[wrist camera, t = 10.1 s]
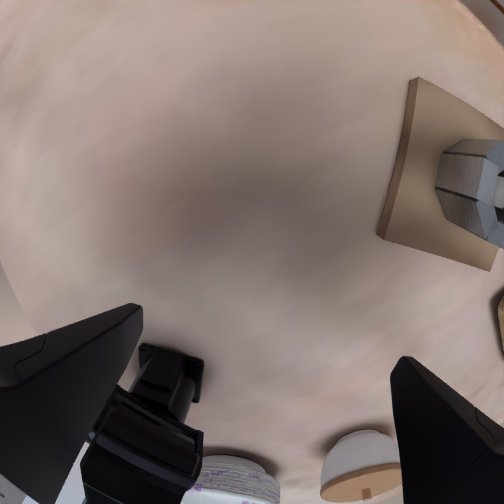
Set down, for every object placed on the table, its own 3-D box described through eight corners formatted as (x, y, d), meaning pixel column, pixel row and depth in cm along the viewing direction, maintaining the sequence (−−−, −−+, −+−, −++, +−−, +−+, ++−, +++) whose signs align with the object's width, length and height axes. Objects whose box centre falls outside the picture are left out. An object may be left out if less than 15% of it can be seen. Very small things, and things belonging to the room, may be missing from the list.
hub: (482, 235, 16) (520, 257, 12) (426, 212, 16) (466, 232, 12) (499, 161, 14) (541, 168, 9) (445, 127, 14) (489, 125, 9)
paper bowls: (181, 434, 30) (165, 481, 22) (294, 454, 29) (293, 502, 22) (181, 472, 35) (171, 507, 28) (268, 487, 35) (265, 523, 27)
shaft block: (480, 265, 19) (515, 292, 13) (376, 233, 19) (406, 261, 14) (511, 142, 14) (551, 146, 9) (409, 80, 15) (447, 63, 9)
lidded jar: (323, 423, 27) (329, 492, 18) (407, 412, 25) (426, 472, 17) (313, 461, 30) (314, 515, 21) (383, 452, 29) (393, 502, 20)
